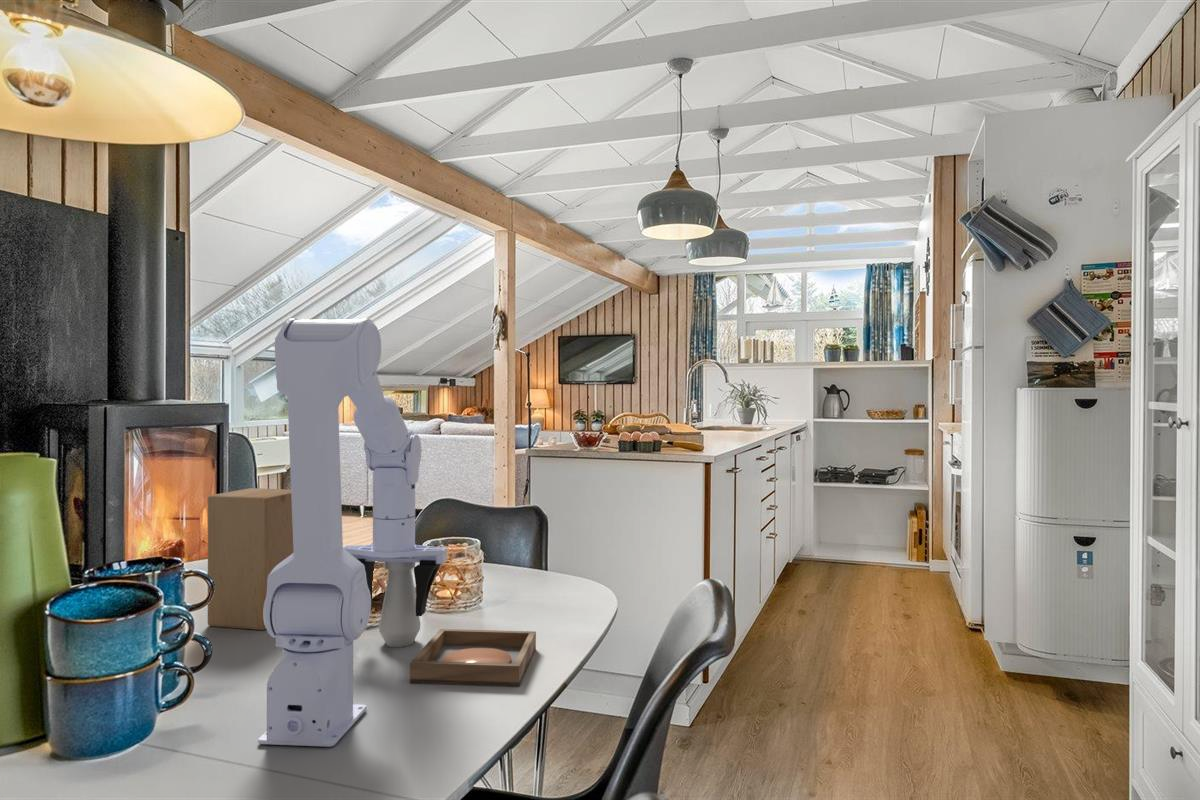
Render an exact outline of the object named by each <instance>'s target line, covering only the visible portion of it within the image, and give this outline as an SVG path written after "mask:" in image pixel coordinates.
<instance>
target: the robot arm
mask: <svg viewBox="0 0 1200 800" xmlns="http://www.w3.org/2000/svg"><path fill="white" fill-rule="evenodd" d="M381 356H382V339H381V335H380V331H379V328H378V327H377V325H376V324H375V323H374V321H373V320H372V319H370V318H362V319H299V318H288V319H287V320H286V321H285V322H284V323H283V325H281V327H280V330H279V331H278V333H277V335H276V336H275V337H274V358H275V359H274V362H275V363H274V364H275V380H276V389H277V392H279V393H280V394H282V395H283V396H286V397H287V415H288V417H287V418H288V445H289V467H290V469H289V471H290V490H291V498H292V524H293V550H294V553H292V554H291V555H290V556H289V557H287V558H286V559H285V560H283V561H282V562H280V563H279V564H278V565H277V566H276V567H275V568H274V569H273V570H272V571H271V573H270V574H269V575H268V580H267V595H266V599H265V602H264V608H263V620H264V624H265V627H266V629H265V630H266V631H267V633H268V634H269V636H270V637H272V638H275V647H277V648H278V647H279V648H282V649H281V656H280V657H281V658H280V661H279V663H278V664H277V666H276V667H274V669H273V671H272V672H271V673H270V675H269V676H268V680H267V684H266V731H265V732H264V733H263V734H262V735H261V736H260V737H258V739H257V743H258V744H259V745H275V746H276V745H279V746H302V747H305V746H306V747H333V746H335V745H336V744H337V743H339V741H340V739H341V738H342V737H343V736H344V735H346V733H347V732H348V730H350V729H351V727H353V725H354V724H355V723H356V722H357V721H358V720H359V718H361V716H362V715H363V714H364V713H365V712H366V711H367V705H366V704H358V703H357V704H356V703H355V704H354V641H356V640H358V639H359V638H360V637H361V635H362V634H363V633H364V632H365V631H366V629H367V627H368V624H369V621H370V617H371V612H372V611H373V600H372V581H373V571H374V565H375V561H378V562H415V563H419V564H417V565H415V567H414V568H413V574H414V575H413V576H414V581H415V583H414V584H415V594H416V616H419V617H422V616H423V615H424V614H425V613H426V608H427V603H428V599H429V595H430V591H431V588H432V585H433V583H434V580H435V578H436V576H437V574H438V571H439V570H440V568H441V565H443V564H445V563H446V562H447V561H448V554H447V553H448V552H447V551H448V548H447V547H442V546H441V547H440V546H430V545H421V544H416V483H417V484H418V481H419V474H420V473H419V472H420V465H421V460H422V441H421V437H420V436H419V435H418V434H415V433H414V431H412V430H409V429H408V426H407V425H406V422H405V420H404V418H403V416H402V414H401V411H400V409H399V407H398V405H397V403H396V401H395V400H394V399H393V398H391V397H390V396H387V395H384V392H383V390H382V386H381V383H380V381H379V376H378V372H377V371H378V368H379V365H380V363H381V358H382V357H381ZM346 397H348V399H350V401H351V403H352V404H354V406H355V409H354V412H353V422H354V424H355V426H356V428H357V430H358V432H359V433H360V435H361V437H362V439H363V440H364V443H363V450H364V452H365V453H364V454H365V463H366V466H367V468H368V469H369V470H370V471H372V543H373V545H370V544H359V545H358V544H357V545H355V544H354V545H350V544H349V545H345V546H344V545H343V544H344V543H343V539H344V538H343V517H342V516H343V511H342V508H343V507H342V484H341V483H342V482H341V481H342V480H341V450H340V449H341V448H340V421H339V416H340V413H339V406H340V404H341V403H342V401H343V400H344V398H346ZM403 557H406V558H403Z"/></svg>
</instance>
